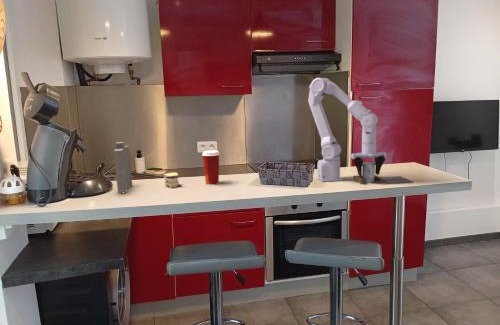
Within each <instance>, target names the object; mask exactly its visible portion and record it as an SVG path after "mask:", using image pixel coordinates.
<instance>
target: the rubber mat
mask: <svg viewBox="0 0 500 325" xmlns="http://www.w3.org/2000/svg"><path fill="white" fill-rule="evenodd" d="M379 177H380V178H382V183H385V184H387V185H394V184H397V185H398V184H410V183H412V184H413V183H414V181H413V180H410V179H409V178H407V177H404V176H401V175H398V176H397V175H395V176H379Z"/></svg>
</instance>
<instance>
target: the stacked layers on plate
mask: <svg viewBox="0 0 500 325" xmlns="http://www.w3.org/2000/svg"><path fill="white" fill-rule="evenodd" d="M163 176H164V177H163V178H164V184H165V187H166V186H169V187H175V188H177V187H176V186H178V187H179V181H178V180H179V177H178V176H179V174H178V173H177V172H169V173H168V172H167V173H164V174H163ZM169 187H168V188H169Z"/></svg>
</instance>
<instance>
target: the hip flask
mask: <svg viewBox="0 0 500 325" xmlns="http://www.w3.org/2000/svg"><path fill="white" fill-rule="evenodd" d="M114 144H115V147H116V148H114V150H113V151H114V162H115V164H114V165H115V174H116V187H117V194H118V193H123V192H126V193H127V191H126V190H128V189H130V188H131V187H133V178H132V165H131V157H130V156H131V154H130V146H129V145H125V141H117V142H115V143H114Z"/></svg>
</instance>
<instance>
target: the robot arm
mask: <svg viewBox="0 0 500 325" xmlns="http://www.w3.org/2000/svg"><path fill="white" fill-rule="evenodd" d="M326 95H332V96H333V97H335V98H336V99H338V101H340V102H341V103H342V104H343V105H345V106H346V107H347V111H348V113H350V114H351V116H352V117H354V118H355V119H356V120H357V121H358V122H359V121H360V125H361V127H362V130H361V131H362V132H361V152H356V153H351V155H350V156H351V159H352V160H353V163H354V165H355V168H356V171H357V176H362V163H364V161H363V159H370V158H371V159H372V158H374V163H375V175H376V176H378V175H380V172H381V169H382V166H383V165H384V163H385V161H386V158H387V152H386V151H377V124H378V122H379V118H378V116H377V115H376V113H374V112H372V110H371V109H368V108H367V107H366V106H365V105H363V102H362V101H359V100H357V99H356V100H352V98H351V97H350V96H348V94H347V93H345V92H344V91H343V90H342V89H341V88H340V87H339V86H338V84H336V83H335V82H333V81H331V80H330V79H329V78H327V77H316V78H314V79H313V80H312V81H311V83H310V84H309V93H308V100H307V102H308V105H309V108H310V111H311V114H312V117H313V120H314V123H315V125H316V128H317V131H318V135H319V137H320V140H321V142H320V146H321V155H322V159H319V160H318V161H317V164H316V168H317V174H316V175H317V177H316V179H318V180H320V181H321V182H336V181H340V182H341V181H344V179H343V178H342V177H341V157H340V155H341V153H342V147H341V144H339V143H338V141H337V139H336V138H335V136H334V135H333V132H332V130H331V126H330V123H329V120H328V118H327V115H326V113H325V110H324V107H323V104H322V100H323V99H324V97H325V96H326Z"/></svg>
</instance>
